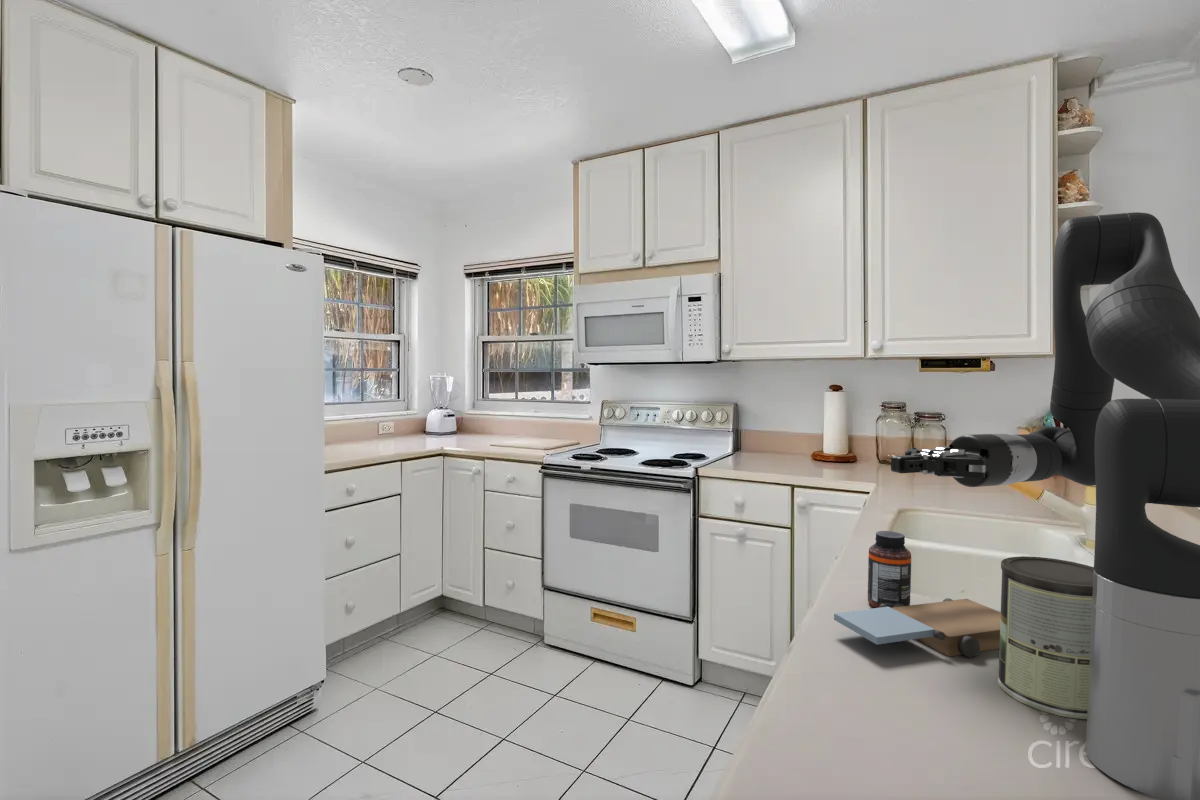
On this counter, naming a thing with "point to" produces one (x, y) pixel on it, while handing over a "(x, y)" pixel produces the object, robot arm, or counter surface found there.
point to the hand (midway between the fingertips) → (895, 464)
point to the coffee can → (1046, 634)
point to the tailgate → (883, 625)
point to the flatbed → (957, 625)
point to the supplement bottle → (889, 570)
